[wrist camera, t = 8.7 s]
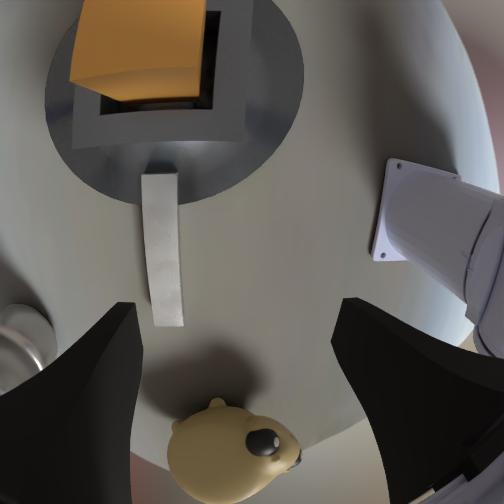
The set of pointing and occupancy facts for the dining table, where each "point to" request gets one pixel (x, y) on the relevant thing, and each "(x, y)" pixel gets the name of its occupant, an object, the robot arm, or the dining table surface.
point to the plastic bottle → (24, 345)
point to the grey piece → (183, 131)
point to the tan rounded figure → (229, 453)
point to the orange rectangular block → (140, 50)
